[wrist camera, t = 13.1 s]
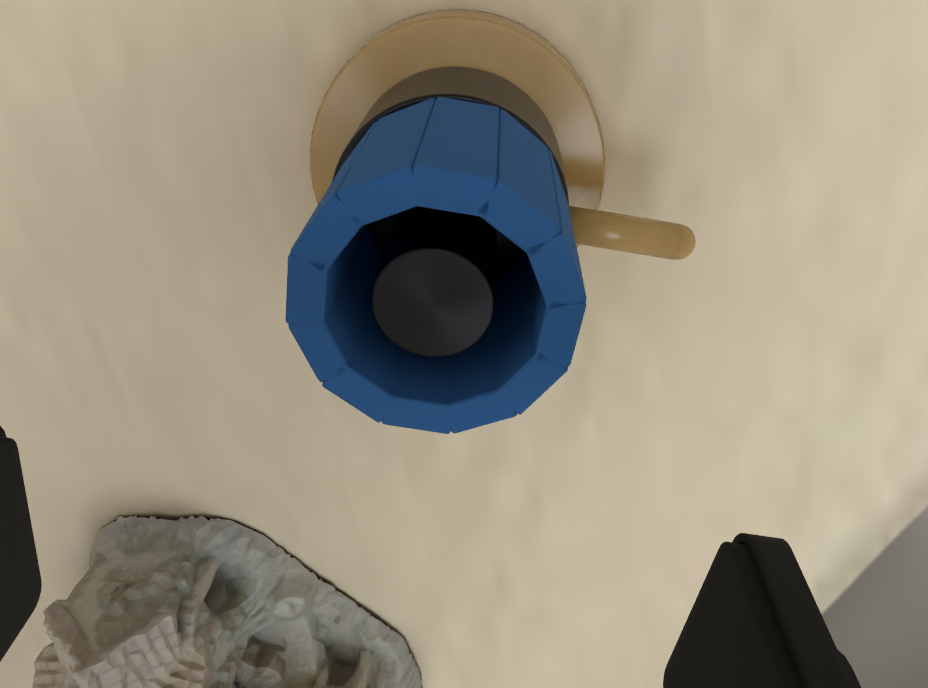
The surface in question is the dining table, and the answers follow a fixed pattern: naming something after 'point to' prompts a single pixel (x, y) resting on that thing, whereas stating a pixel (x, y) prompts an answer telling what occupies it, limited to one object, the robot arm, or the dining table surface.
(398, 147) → the sleeve
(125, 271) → the dining table surface
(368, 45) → the peg stand
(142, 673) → the ceramic cottage
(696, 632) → the robot arm
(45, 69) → the dining table surface
